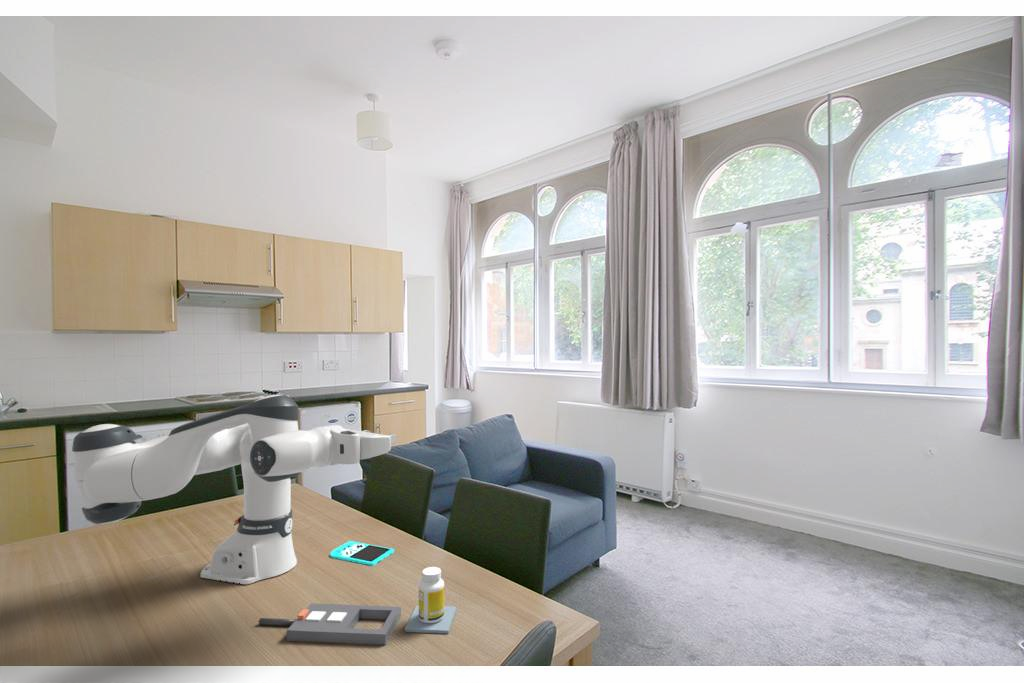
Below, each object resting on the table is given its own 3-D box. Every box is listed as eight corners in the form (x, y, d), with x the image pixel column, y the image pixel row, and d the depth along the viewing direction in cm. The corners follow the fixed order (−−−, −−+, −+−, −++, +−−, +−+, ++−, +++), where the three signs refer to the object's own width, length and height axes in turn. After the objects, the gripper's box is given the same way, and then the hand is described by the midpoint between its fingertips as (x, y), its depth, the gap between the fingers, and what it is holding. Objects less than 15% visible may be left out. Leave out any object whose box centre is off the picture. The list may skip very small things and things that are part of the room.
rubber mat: (404, 631, 98) (404, 628, 98) (416, 607, 107) (416, 605, 107) (448, 633, 98) (448, 630, 98) (456, 609, 107) (456, 606, 107)
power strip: (245, 638, 96) (245, 624, 96) (273, 611, 106) (273, 598, 106) (385, 644, 94) (385, 630, 94) (400, 616, 104) (401, 603, 104)
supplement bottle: (448, 613, 104) (448, 567, 104) (436, 626, 99) (436, 578, 99) (426, 608, 106) (426, 563, 106) (413, 621, 101) (413, 574, 101)
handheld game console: (350, 544, 143) (350, 539, 143) (395, 552, 137) (395, 548, 137) (325, 558, 134) (325, 553, 134) (373, 567, 128) (373, 562, 128)
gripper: (306, 453, 115) (356, 443, 126) (358, 465, 102) (408, 453, 113) (306, 426, 115) (356, 419, 126) (358, 435, 102) (408, 426, 113)
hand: (381, 435), depth 119 cm, fingers open, 8 cm apart
